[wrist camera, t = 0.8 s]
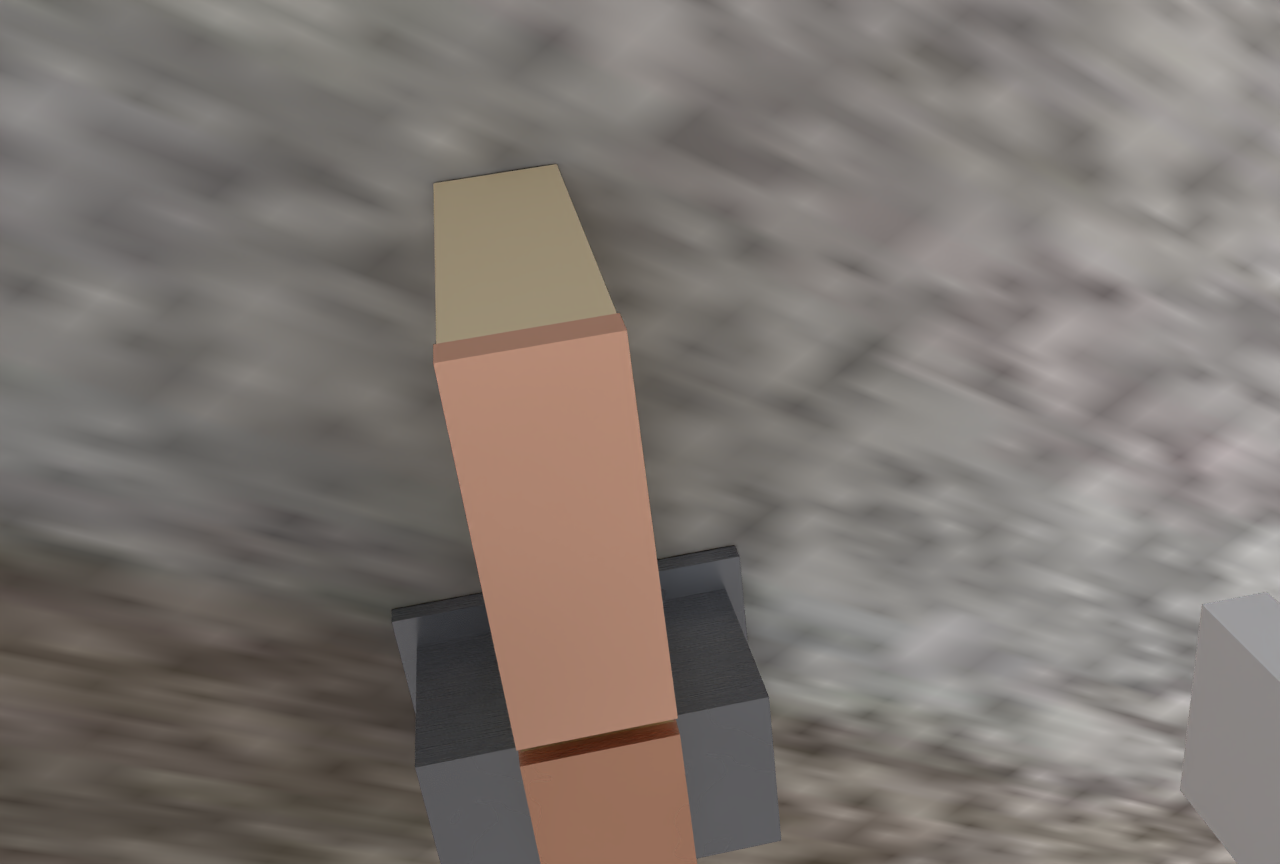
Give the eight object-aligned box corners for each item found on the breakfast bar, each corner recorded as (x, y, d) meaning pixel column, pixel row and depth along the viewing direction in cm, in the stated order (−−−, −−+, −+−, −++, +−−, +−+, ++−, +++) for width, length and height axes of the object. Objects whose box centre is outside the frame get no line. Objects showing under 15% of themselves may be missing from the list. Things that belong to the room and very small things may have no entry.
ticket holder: (439, 793, 37) (444, 1147, 27) (364, 504, 32) (336, 803, 22) (752, 730, 38) (869, 1050, 28) (724, 439, 33) (853, 699, 23)
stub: (488, 472, 32) (516, 751, 22) (430, 183, 29) (433, 363, 19) (601, 452, 33) (677, 718, 23) (558, 163, 29) (626, 330, 19)
